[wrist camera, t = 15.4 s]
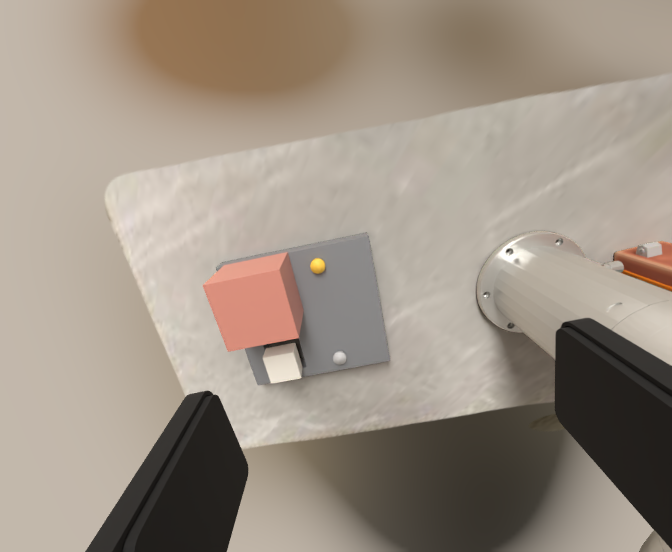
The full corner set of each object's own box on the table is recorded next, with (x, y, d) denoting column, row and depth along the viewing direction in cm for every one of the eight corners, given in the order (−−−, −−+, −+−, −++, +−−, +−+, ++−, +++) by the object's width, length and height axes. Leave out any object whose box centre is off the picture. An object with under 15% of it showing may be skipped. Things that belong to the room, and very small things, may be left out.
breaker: (295, 342, 37) (293, 352, 35) (302, 367, 38) (301, 378, 36) (266, 348, 37) (262, 358, 35) (274, 373, 38) (271, 383, 37)
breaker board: (366, 232, 35) (369, 237, 33) (387, 351, 41) (391, 363, 38) (221, 262, 36) (214, 269, 34) (260, 375, 41) (256, 388, 39)
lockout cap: (287, 251, 34) (279, 269, 28) (303, 310, 36) (298, 337, 31) (223, 265, 34) (202, 285, 28) (243, 322, 37) (228, 351, 31)
